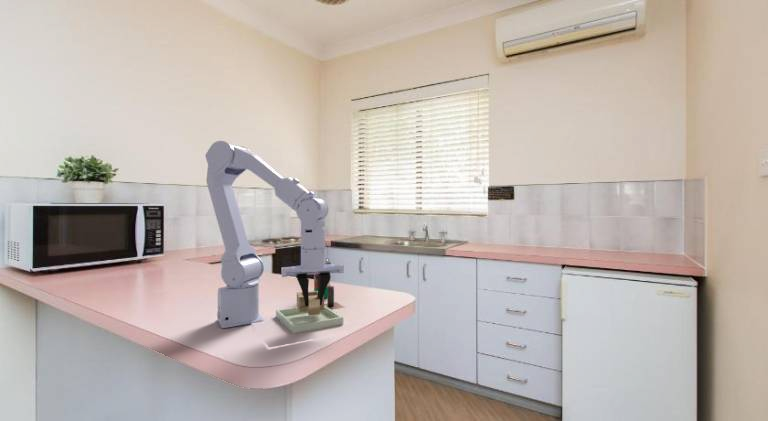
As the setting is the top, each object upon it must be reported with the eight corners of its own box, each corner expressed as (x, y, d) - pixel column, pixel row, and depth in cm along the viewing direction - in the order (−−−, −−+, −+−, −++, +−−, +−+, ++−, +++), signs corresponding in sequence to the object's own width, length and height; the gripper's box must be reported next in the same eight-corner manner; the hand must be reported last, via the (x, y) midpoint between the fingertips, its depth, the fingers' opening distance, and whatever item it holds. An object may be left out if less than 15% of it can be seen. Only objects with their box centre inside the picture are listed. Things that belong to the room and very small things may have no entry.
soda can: (327, 300, 108) (327, 260, 108) (311, 299, 109) (311, 260, 109) (332, 296, 113) (332, 258, 113) (317, 295, 114) (317, 257, 114)
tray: (293, 335, 79) (293, 326, 79) (275, 318, 91) (275, 310, 91) (343, 325, 86) (343, 317, 86) (321, 310, 98) (321, 303, 98)
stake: (324, 312, 96) (324, 290, 96) (316, 306, 101) (316, 285, 101) (345, 308, 100) (345, 287, 99) (336, 303, 105) (336, 283, 105)
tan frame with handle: (327, 313, 85) (327, 298, 85) (301, 316, 83) (301, 301, 83) (320, 304, 94) (319, 290, 94) (296, 306, 92) (296, 292, 92)
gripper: (339, 245, 92) (339, 297, 92) (280, 247, 87) (280, 303, 87) (345, 248, 85) (345, 305, 85) (282, 250, 80) (282, 311, 80)
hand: (313, 304), depth 86 cm, fingers closed on tan frame with handle, 2 cm apart
